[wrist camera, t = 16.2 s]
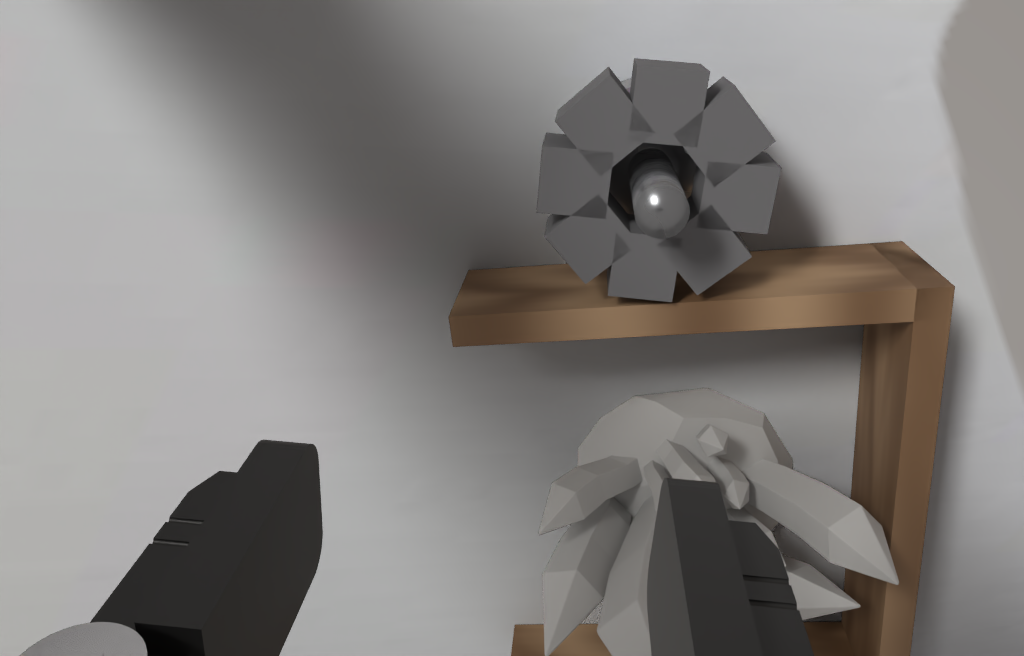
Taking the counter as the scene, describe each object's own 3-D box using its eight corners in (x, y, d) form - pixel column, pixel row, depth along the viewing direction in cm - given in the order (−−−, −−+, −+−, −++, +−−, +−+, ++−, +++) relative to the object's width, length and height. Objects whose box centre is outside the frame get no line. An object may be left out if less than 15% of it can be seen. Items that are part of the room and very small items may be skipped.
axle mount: (576, 69, 30) (570, 98, 23) (739, 83, 29) (787, 118, 22) (561, 224, 32) (551, 296, 25) (711, 238, 32) (745, 316, 25)
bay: (517, 642, 41) (507, 725, 37) (468, 270, 33) (448, 316, 29) (865, 640, 39) (901, 727, 35) (902, 241, 31) (954, 286, 27)
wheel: (553, 51, 27) (549, 58, 25) (782, 70, 26) (799, 79, 24) (534, 265, 30) (530, 287, 28) (739, 285, 30) (751, 310, 27)
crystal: (858, 537, 37) (1012, 867, 23) (582, 589, 40) (575, 911, 26) (821, 350, 34) (978, 609, 20) (521, 421, 36) (477, 692, 23)
